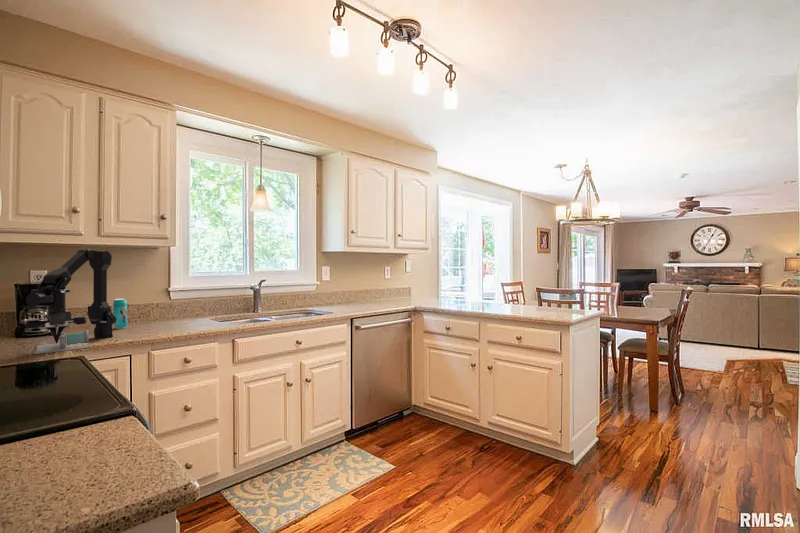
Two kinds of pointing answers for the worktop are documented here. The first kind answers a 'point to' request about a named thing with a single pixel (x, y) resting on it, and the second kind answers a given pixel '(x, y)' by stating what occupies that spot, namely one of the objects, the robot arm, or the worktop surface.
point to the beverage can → (120, 313)
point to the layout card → (56, 348)
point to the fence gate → (62, 341)
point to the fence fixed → (77, 338)
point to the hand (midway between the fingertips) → (56, 342)
